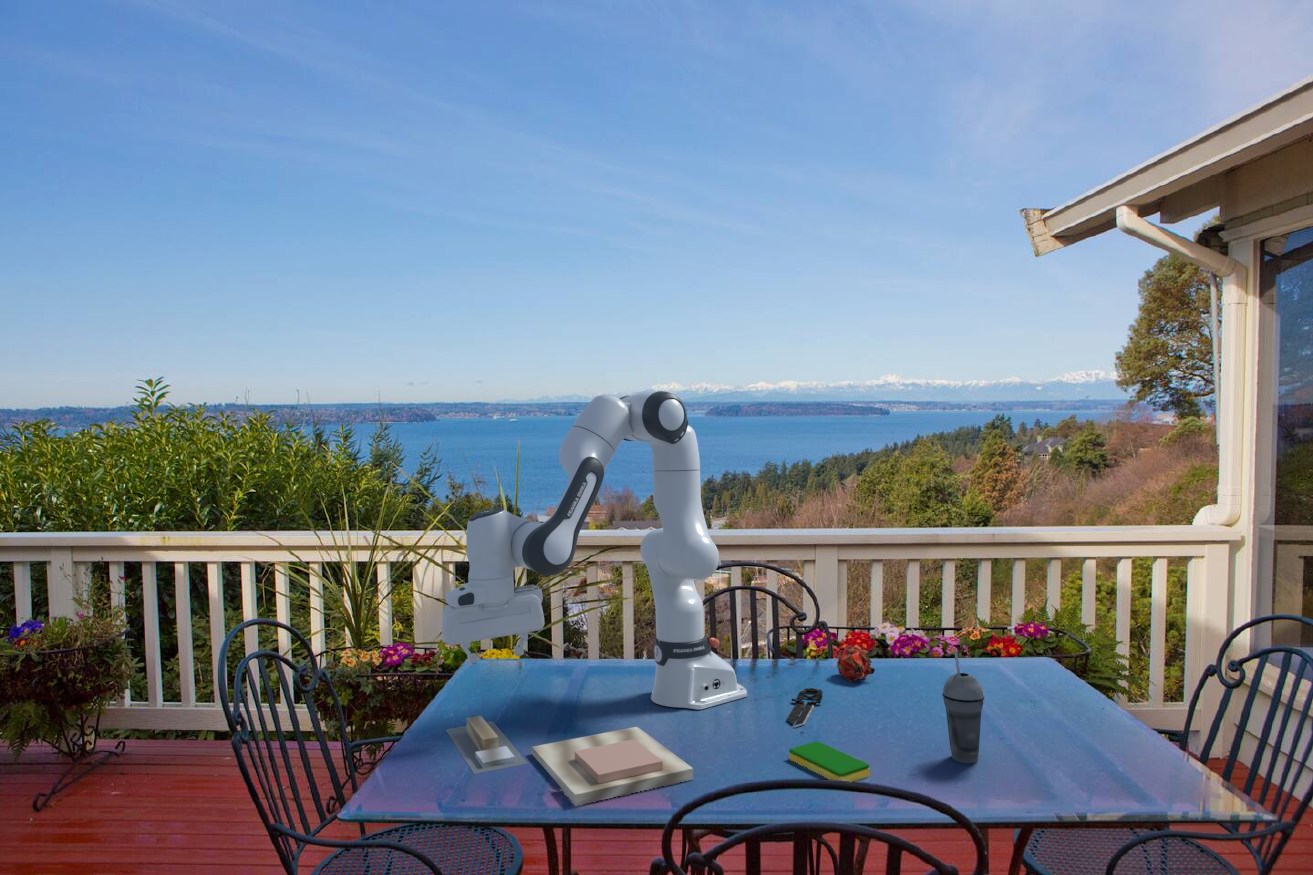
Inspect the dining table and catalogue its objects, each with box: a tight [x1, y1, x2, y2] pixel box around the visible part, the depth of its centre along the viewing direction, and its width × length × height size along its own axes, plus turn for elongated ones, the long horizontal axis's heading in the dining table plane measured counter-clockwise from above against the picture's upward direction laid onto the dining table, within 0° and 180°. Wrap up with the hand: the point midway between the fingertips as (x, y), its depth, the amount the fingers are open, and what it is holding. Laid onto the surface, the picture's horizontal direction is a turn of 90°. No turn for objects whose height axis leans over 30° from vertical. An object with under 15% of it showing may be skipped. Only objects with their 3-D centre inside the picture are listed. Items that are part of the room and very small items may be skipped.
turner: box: [466, 715, 515, 768], centre depth 159 cm, size 6×20×3 cm, turn 26°
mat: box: [445, 720, 529, 775], centre depth 160 cm, size 10×26×1 cm, turn 26°
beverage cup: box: [942, 648, 985, 764], centre depth 150 cm, size 7×7×20 cm
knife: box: [786, 687, 823, 729], centre depth 179 cm, size 25×6×1 cm, turn 155°
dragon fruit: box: [836, 645, 876, 683], centre depth 200 cm, size 8×8×12 cm
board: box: [531, 726, 694, 805], centre depth 149 cm, size 22×24×2 cm
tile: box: [574, 739, 663, 784], centre depth 146 cm, size 12×2×12 cm
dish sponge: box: [788, 740, 870, 783], centre depth 147 cm, size 7×14×2 cm, turn 31°
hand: (496, 659), depth 163 cm, fingers open, 8 cm apart
